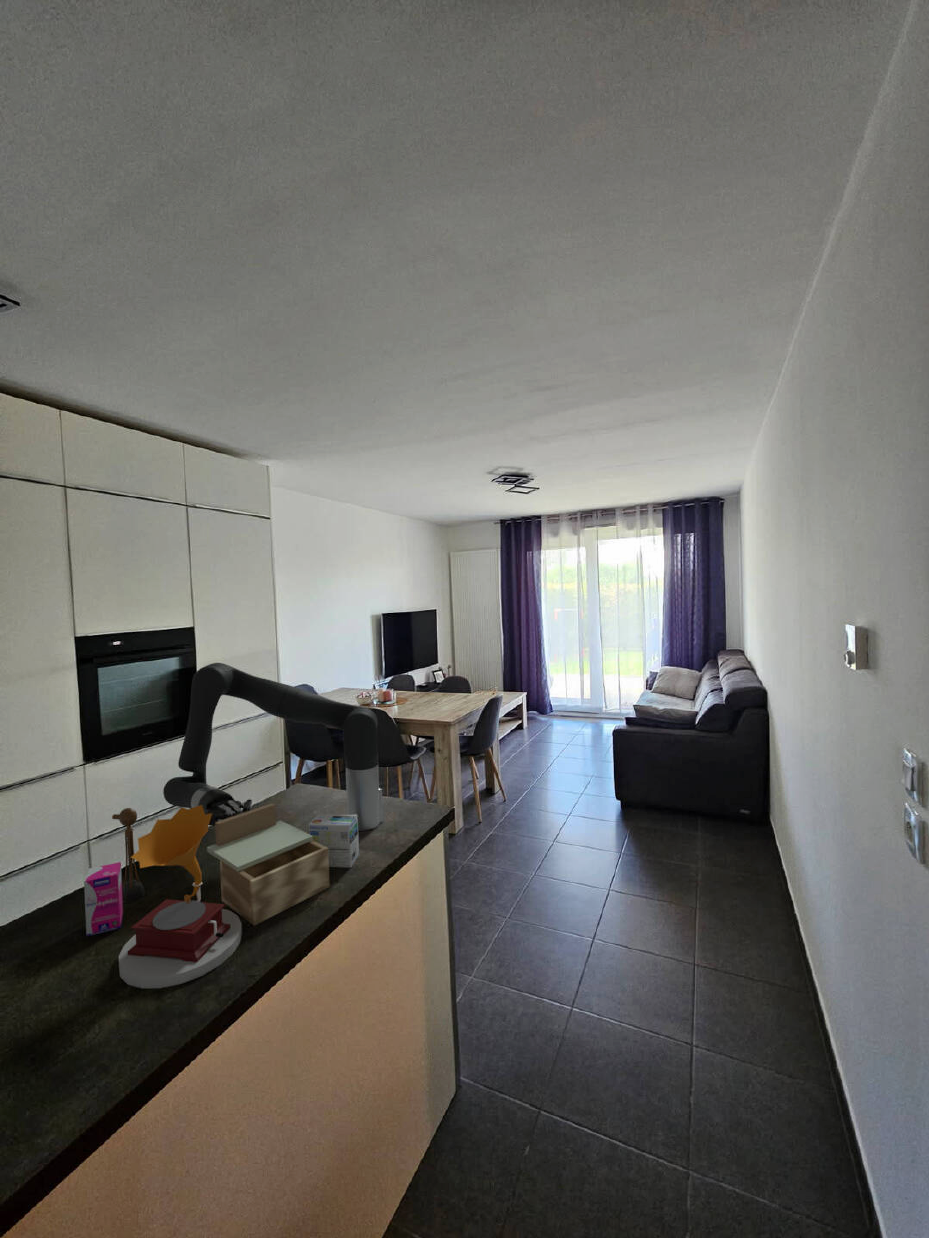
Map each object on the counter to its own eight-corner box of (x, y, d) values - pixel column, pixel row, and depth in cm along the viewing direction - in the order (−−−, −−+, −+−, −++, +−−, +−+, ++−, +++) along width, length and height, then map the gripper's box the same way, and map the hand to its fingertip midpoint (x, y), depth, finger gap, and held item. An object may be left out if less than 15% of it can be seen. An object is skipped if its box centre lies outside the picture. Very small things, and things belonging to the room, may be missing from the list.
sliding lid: (280, 824, 134) (279, 800, 133) (312, 840, 125) (311, 814, 124) (207, 851, 120) (206, 825, 120) (237, 871, 111) (236, 843, 111)
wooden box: (295, 867, 130) (293, 831, 130) (329, 886, 121) (328, 847, 121) (221, 900, 117) (219, 860, 116) (254, 925, 108) (252, 881, 107)
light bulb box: (359, 854, 136) (358, 813, 135) (351, 868, 129) (350, 824, 129) (319, 853, 137) (317, 812, 136) (308, 867, 130) (307, 823, 130)
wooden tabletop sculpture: (110, 901, 117) (105, 811, 116) (126, 889, 122) (122, 803, 121) (133, 903, 116) (129, 812, 115) (149, 891, 121) (145, 804, 120)
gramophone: (173, 912, 113) (167, 796, 112) (262, 920, 109) (257, 800, 108) (89, 982, 93) (81, 841, 91) (196, 995, 89) (188, 848, 88)
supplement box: (85, 938, 105) (82, 881, 104) (90, 922, 110) (87, 867, 109) (121, 929, 107) (117, 873, 107) (124, 913, 113) (121, 860, 112)
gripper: (184, 797, 133) (216, 814, 122) (236, 782, 143) (270, 797, 132) (186, 826, 133) (218, 847, 122) (237, 809, 143) (271, 826, 132)
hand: (245, 821), depth 127 cm, fingers closed
